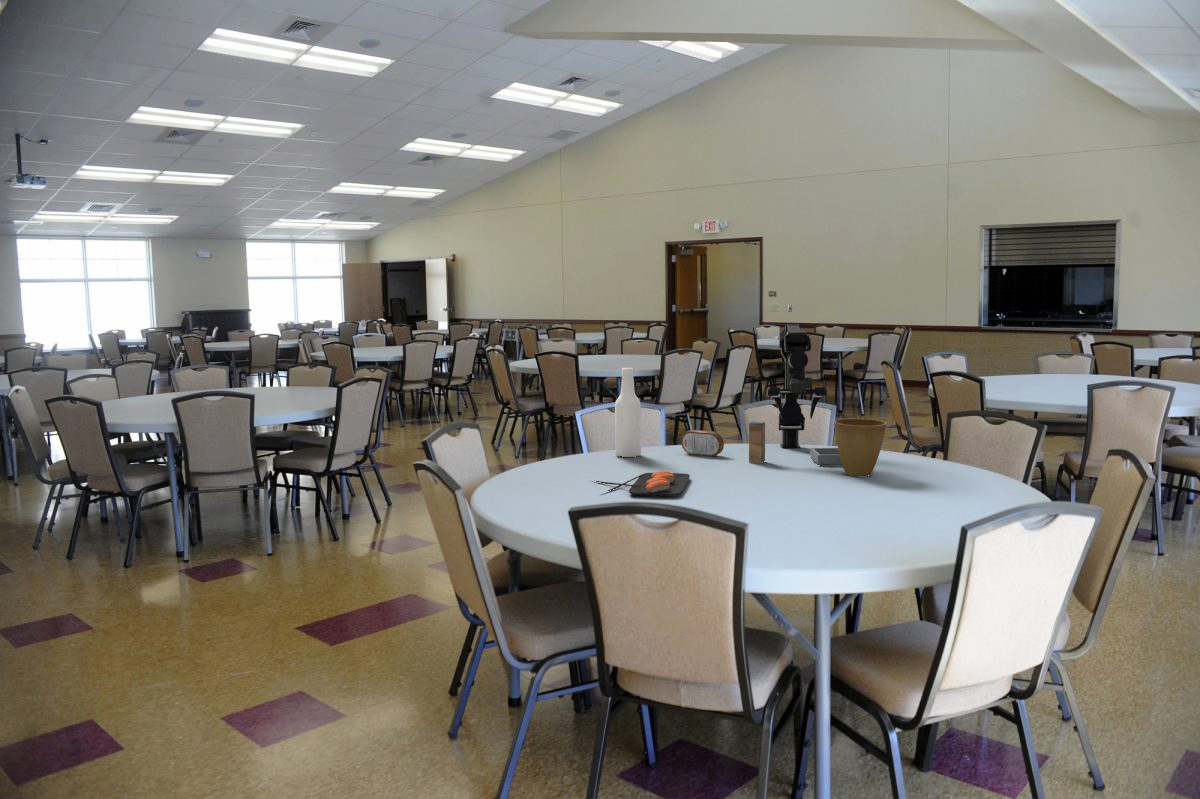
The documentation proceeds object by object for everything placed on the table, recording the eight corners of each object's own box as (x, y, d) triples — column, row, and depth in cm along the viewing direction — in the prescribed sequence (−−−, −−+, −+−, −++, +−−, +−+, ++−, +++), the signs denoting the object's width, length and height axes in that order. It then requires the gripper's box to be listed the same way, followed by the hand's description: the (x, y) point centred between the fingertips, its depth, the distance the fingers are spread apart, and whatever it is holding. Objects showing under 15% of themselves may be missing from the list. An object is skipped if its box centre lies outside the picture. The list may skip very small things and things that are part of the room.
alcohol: (629, 452, 318) (628, 366, 314) (646, 455, 311) (645, 367, 308) (610, 455, 312) (609, 368, 309) (627, 458, 305) (626, 369, 302)
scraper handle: (753, 460, 299) (753, 421, 297) (764, 461, 297) (765, 422, 295) (748, 462, 295) (749, 422, 294) (760, 463, 293) (761, 423, 292)
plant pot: (833, 478, 268) (834, 424, 266) (833, 469, 282) (833, 417, 281) (886, 480, 264) (887, 425, 263) (883, 470, 279) (884, 418, 277)
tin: (724, 456, 308) (724, 431, 307) (720, 457, 306) (720, 432, 305) (684, 452, 316) (684, 428, 315) (680, 454, 314) (680, 429, 313)
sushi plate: (680, 501, 244) (680, 487, 243) (570, 497, 250) (570, 483, 249) (691, 479, 272) (691, 467, 271) (592, 477, 278) (592, 464, 277)
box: (810, 458, 302) (810, 447, 301) (852, 458, 301) (852, 447, 300) (817, 465, 288) (817, 455, 288) (861, 465, 287) (861, 454, 287)
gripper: (768, 369, 289) (768, 418, 289) (828, 369, 287) (828, 419, 287) (766, 370, 300) (766, 418, 300) (825, 370, 298) (825, 418, 298)
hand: (796, 418), depth 296 cm, fingers open, 9 cm apart
